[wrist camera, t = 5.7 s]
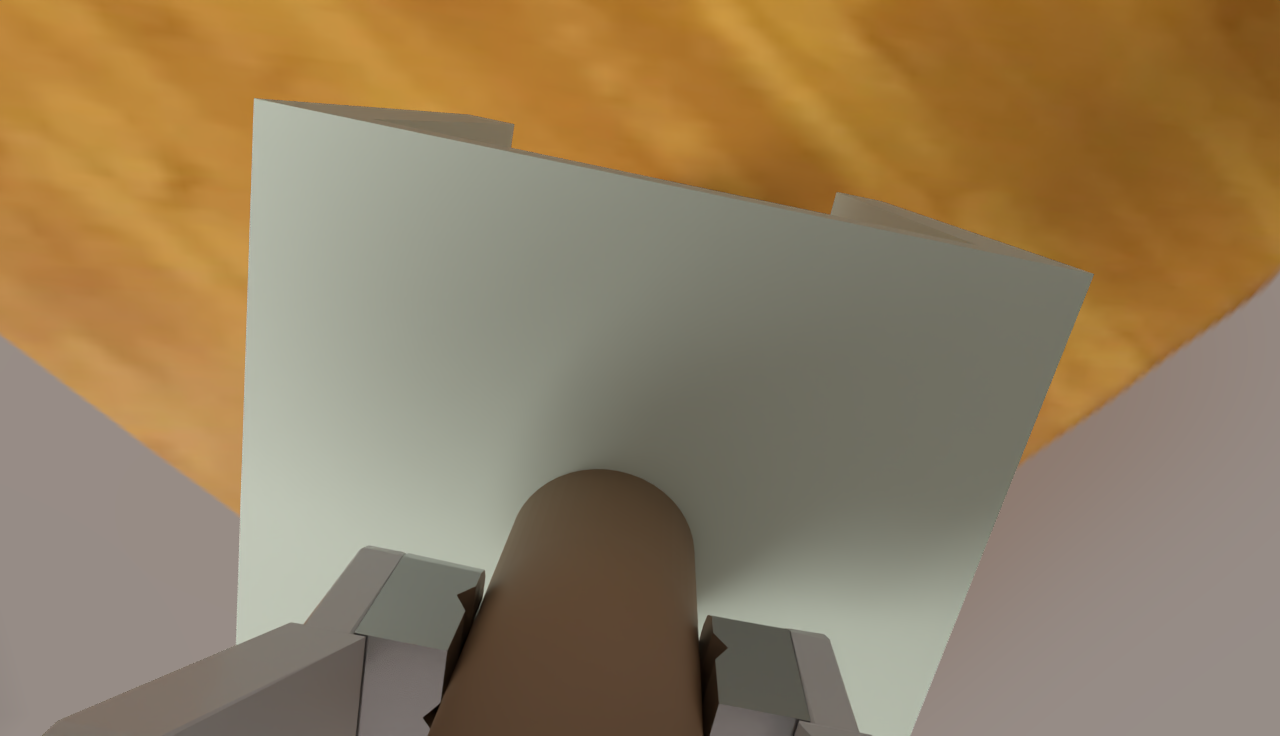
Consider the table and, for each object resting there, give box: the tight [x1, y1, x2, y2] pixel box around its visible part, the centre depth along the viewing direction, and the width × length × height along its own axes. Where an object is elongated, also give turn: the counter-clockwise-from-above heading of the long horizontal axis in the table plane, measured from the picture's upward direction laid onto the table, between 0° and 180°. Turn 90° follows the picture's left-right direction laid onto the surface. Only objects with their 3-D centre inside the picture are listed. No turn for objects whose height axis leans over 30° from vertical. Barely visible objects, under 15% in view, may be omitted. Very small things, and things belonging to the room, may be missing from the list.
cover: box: [236, 98, 1094, 736], centre depth 14 cm, size 11×11×15 cm
